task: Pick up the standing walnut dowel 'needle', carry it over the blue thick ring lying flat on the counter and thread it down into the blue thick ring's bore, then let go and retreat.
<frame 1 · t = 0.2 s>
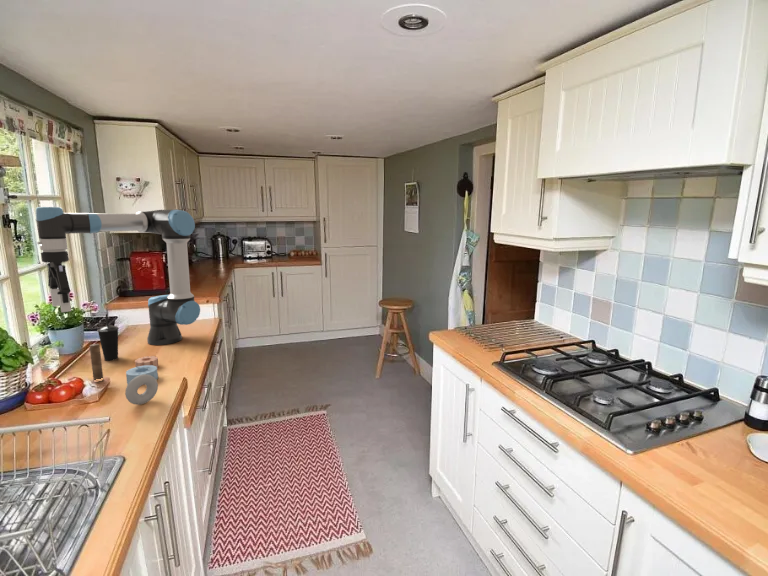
hand: (61, 308, 146), 28 cm above the counter, fingers open, 13 cm apart
drinking cup: (111, 359, 173), on the counter
bead2: (147, 367, 164), on the counter
blue thick ring: (142, 380, 151), on the counter
dowel: (98, 380, 150), on the counter
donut: (143, 404, 132), on the counter
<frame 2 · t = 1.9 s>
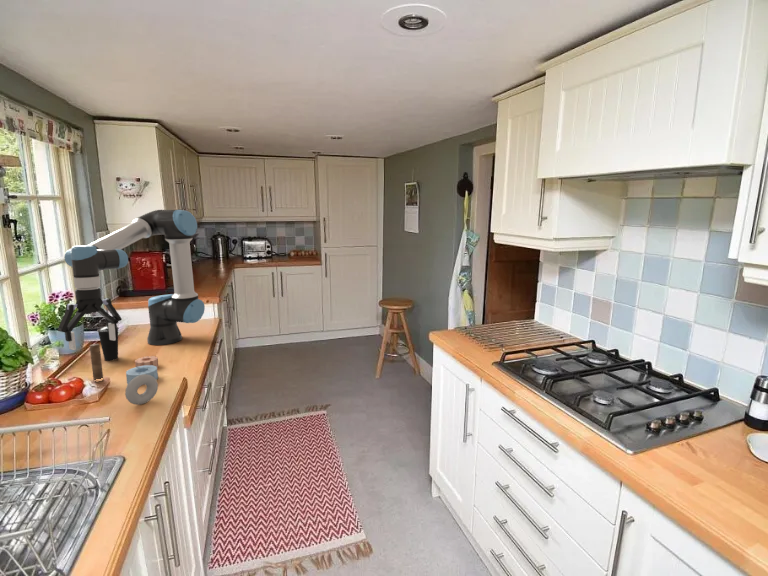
hand: (93, 344, 148), 14 cm above the counter, fingers open, 13 cm apart
nothing on the counter moved.
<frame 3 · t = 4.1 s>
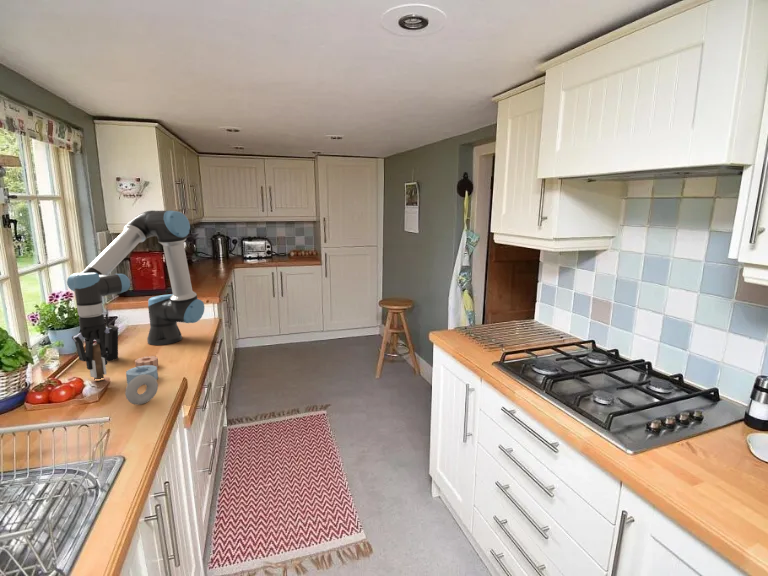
hand: (98, 375, 150), 2 cm above the counter, fingers closed on dowel, 3 cm apart
dowel: (99, 380, 150), on the counter, touching gripper
everything else where it was.
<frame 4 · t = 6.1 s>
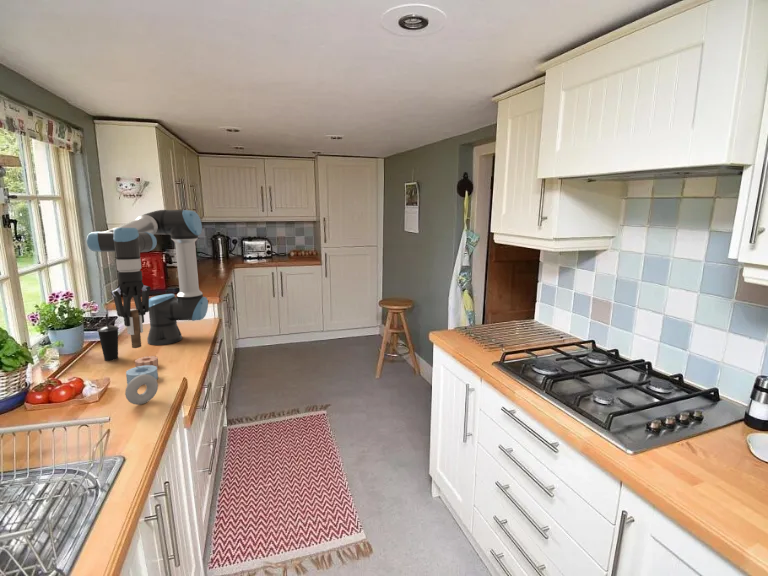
hand: (135, 332, 148), 19 cm above the counter, fingers closed on dowel, 3 cm apart
dowel: (136, 346, 149), point 13 cm above the counter, touching gripper
everything else where it was.
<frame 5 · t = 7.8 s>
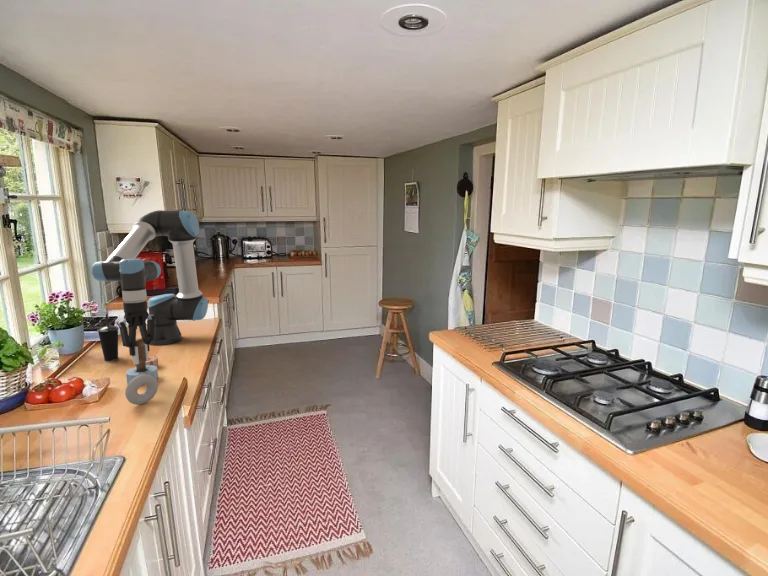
hand: (140, 361, 150), 7 cm above the counter, fingers closed on dowel, 3 cm apart
dowel: (142, 375, 151), point 2 cm above the counter, touching gripper
everything else where it was.
when the fingers open (5 cm above the counter, at t = 8.5 s): dowel stays where it is, resting in blue thick ring.
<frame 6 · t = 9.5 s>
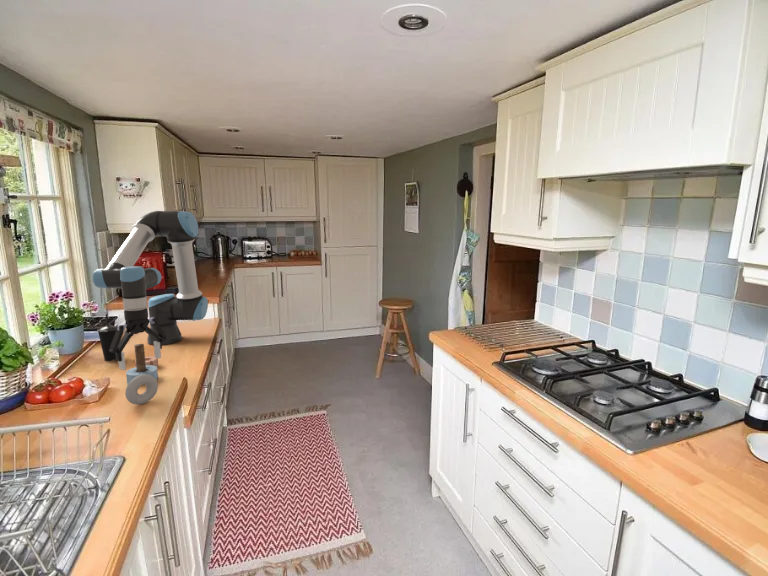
hand: (141, 363, 150), 7 cm above the counter, fingers open, 13 cm apart
dowel: (142, 380, 151), resting in blue thick ring
everything else where it was.
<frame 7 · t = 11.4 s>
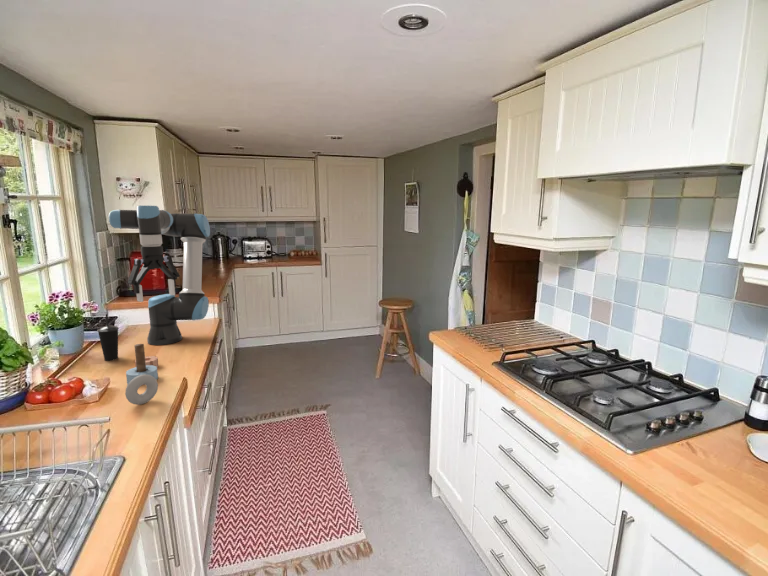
hand: (156, 298, 160), 29 cm above the counter, fingers open, 13 cm apart
nothing on the counter moved.
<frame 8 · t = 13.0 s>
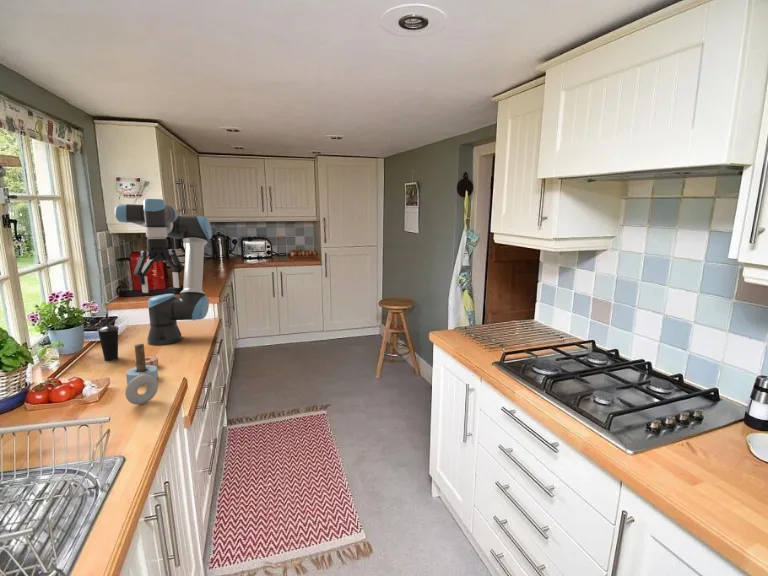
hand: (161, 290, 163), 32 cm above the counter, fingers open, 13 cm apart
nothing on the counter moved.
at the end: dowel 0.1 cm off-centre on the blue thick ring, point 0.0 cm above the blue thick ring's base; dowel tilted 0°; the gripper is holding nothing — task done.
